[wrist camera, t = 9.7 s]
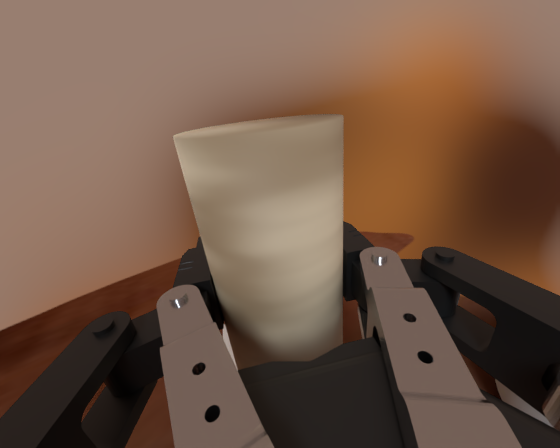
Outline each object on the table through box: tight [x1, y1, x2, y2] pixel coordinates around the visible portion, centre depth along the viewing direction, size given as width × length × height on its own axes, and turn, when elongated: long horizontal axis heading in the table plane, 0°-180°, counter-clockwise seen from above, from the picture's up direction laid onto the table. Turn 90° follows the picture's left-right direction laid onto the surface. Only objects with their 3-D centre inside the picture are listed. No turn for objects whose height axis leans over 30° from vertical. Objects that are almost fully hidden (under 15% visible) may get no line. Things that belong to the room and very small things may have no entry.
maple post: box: [173, 114, 343, 370], centre depth 10 cm, size 5×5×12 cm
